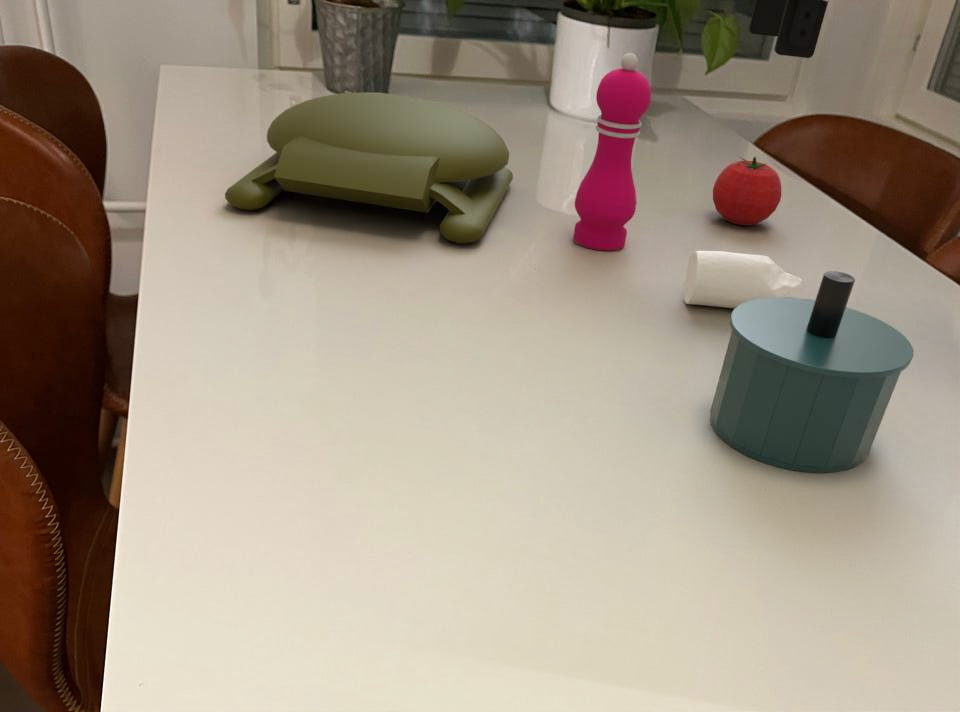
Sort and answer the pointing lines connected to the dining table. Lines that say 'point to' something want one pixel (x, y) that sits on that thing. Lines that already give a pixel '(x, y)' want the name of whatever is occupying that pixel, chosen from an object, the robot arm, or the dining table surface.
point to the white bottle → (734, 279)
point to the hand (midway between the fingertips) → (778, 44)
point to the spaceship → (384, 158)
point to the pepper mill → (612, 160)
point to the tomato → (747, 192)
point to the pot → (796, 412)
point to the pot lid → (822, 333)
